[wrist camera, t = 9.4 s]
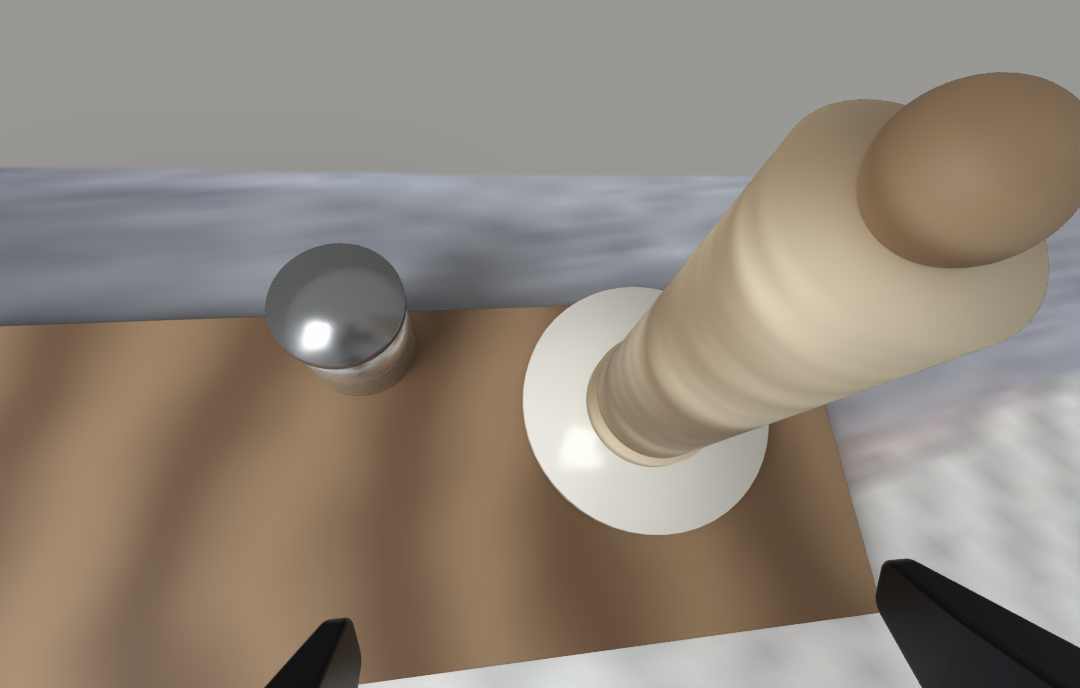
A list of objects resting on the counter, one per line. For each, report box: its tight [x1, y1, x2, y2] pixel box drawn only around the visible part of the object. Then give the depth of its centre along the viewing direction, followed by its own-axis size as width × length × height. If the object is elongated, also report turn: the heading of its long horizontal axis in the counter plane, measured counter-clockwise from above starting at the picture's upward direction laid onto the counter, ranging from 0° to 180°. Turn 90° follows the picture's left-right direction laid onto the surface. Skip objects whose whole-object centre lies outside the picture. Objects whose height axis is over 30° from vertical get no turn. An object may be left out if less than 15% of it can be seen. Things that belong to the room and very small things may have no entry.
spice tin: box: [265, 243, 416, 396], centre depth 18 cm, size 4×4×4 cm
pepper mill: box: [586, 72, 1080, 467], centre depth 13 cm, size 5×5×15 cm
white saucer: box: [522, 287, 769, 535], centre depth 21 cm, size 10×10×1 cm
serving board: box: [0, 306, 879, 688], centre depth 19 cm, size 34×13×1 cm, turn 95°
